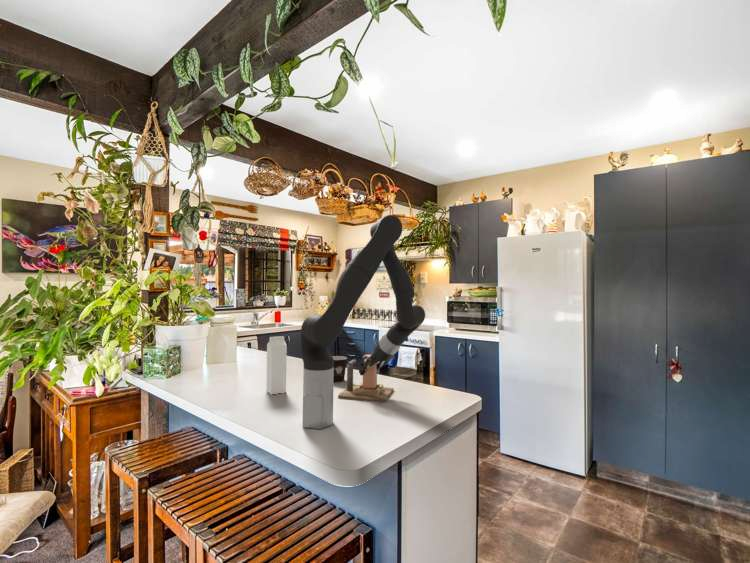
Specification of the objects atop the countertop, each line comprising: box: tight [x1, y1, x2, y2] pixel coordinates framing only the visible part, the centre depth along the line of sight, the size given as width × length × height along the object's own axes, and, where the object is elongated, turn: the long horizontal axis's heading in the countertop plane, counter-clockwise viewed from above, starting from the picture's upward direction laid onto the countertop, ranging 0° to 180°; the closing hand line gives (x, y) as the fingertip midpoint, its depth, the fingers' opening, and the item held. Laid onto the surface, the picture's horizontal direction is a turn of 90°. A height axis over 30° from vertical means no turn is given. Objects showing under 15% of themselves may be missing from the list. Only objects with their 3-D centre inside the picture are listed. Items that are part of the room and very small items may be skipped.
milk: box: [265, 335, 288, 396], centre depth 148 cm, size 6×6×22 cm
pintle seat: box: [337, 359, 394, 403], centre depth 146 cm, size 16×18×12 cm
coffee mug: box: [331, 355, 348, 383], centre depth 167 cm, size 12×9×10 cm
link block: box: [362, 354, 378, 388], centre depth 146 cm, size 4×4×12 cm
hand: (366, 372), depth 148 cm, fingers closed on link block, 6 cm apart
